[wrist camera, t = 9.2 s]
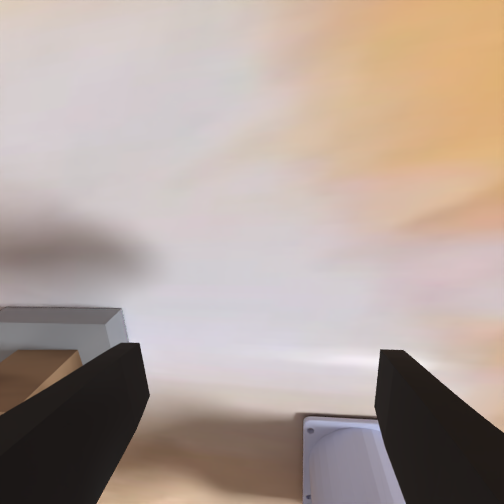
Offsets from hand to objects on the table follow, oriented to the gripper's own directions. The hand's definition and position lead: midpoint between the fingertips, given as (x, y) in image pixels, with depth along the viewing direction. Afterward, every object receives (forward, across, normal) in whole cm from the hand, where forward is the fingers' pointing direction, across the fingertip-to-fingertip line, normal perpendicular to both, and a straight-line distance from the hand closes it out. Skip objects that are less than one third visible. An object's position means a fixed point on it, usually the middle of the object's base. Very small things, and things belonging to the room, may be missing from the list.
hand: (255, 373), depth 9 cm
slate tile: (+10, +15, +8) cm, 20 cm away
